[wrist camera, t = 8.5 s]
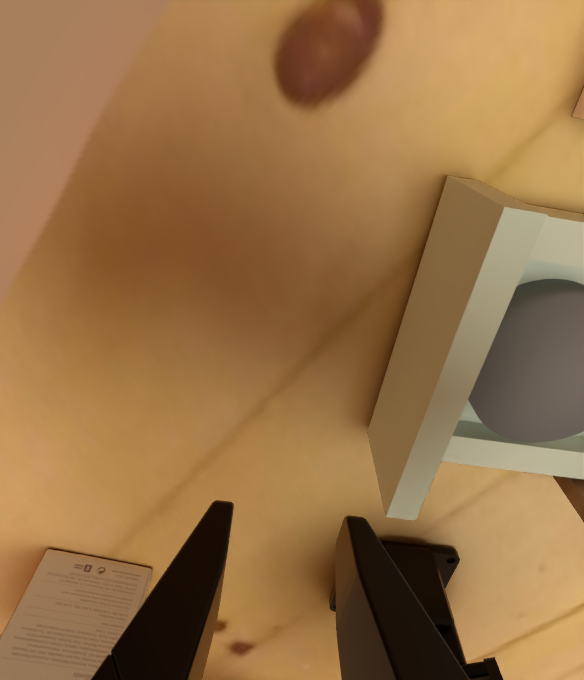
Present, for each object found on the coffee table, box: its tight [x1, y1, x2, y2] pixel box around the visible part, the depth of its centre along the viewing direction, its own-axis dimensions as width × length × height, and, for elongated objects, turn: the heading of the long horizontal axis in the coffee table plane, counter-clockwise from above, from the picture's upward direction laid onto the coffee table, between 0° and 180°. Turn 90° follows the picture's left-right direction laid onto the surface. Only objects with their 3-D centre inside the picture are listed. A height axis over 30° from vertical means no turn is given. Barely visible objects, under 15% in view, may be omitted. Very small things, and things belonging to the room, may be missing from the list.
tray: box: [367, 175, 584, 521], centre depth 17 cm, size 11×12×5 cm
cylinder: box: [468, 279, 584, 442], centre depth 18 cm, size 6×6×2 cm
